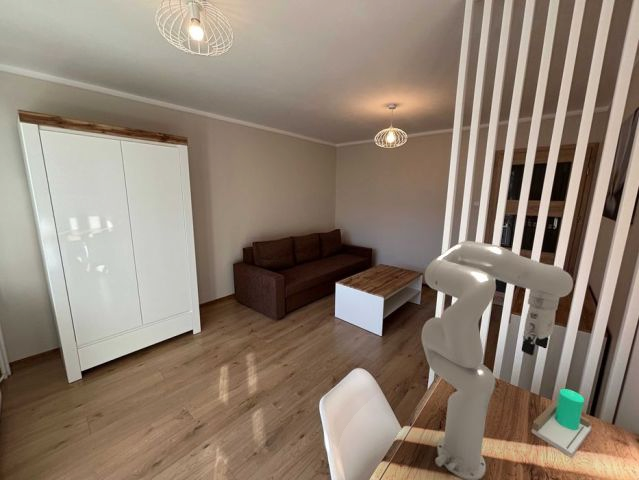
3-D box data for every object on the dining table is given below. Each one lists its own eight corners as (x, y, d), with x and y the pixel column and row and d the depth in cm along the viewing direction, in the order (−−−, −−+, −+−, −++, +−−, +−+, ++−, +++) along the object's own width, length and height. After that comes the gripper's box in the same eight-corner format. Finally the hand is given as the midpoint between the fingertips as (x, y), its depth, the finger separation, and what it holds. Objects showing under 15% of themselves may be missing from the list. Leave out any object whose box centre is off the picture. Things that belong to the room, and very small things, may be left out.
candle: (568, 416, 92) (574, 385, 90) (583, 431, 86) (590, 398, 84) (550, 414, 93) (555, 383, 91) (563, 429, 87) (570, 396, 85)
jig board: (571, 457, 79) (573, 446, 78) (531, 432, 87) (533, 421, 87) (590, 430, 88) (592, 420, 88) (552, 410, 97) (554, 400, 96)
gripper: (544, 310, 80) (535, 362, 82) (568, 301, 88) (558, 349, 91) (516, 301, 86) (508, 350, 89) (540, 294, 95) (532, 338, 97)
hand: (534, 349), depth 90 cm, fingers open, 9 cm apart
